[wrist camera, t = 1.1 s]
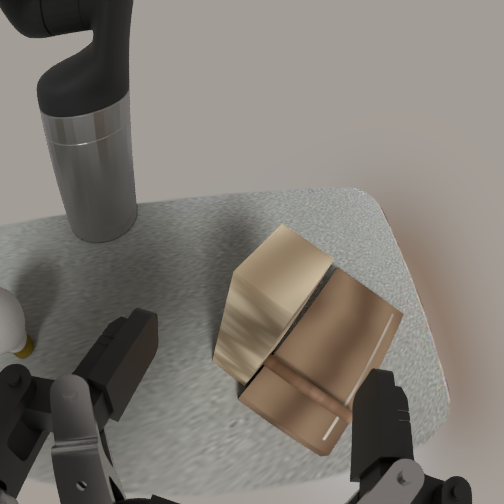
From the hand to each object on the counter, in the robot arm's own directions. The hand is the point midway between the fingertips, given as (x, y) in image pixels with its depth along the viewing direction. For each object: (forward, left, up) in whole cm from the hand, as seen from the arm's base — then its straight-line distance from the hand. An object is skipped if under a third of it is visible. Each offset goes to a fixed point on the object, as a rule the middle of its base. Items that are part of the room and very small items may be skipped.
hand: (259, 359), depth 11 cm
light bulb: (-19, -9, -20) cm, 29 cm away
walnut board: (+5, +13, -20) cm, 24 cm away
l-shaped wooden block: (+3, +7, -20) cm, 21 cm away
